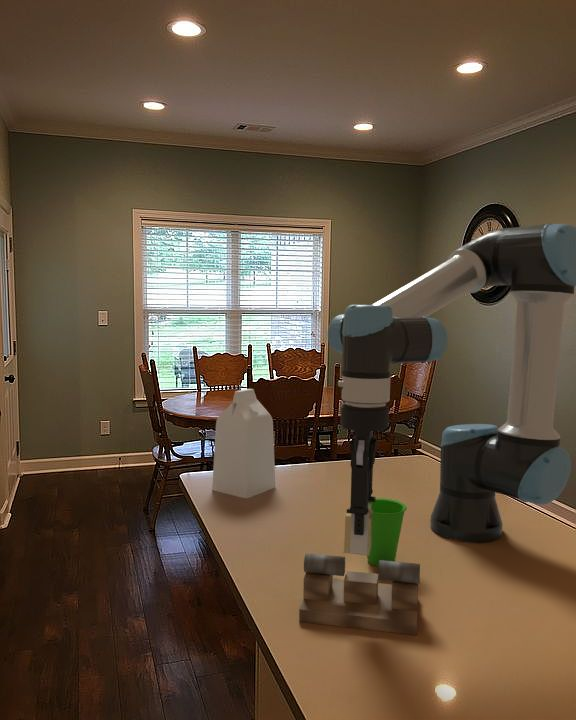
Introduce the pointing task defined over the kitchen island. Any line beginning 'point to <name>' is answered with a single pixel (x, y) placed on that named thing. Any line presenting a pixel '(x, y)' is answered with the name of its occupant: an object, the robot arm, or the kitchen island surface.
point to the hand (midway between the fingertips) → (360, 546)
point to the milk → (244, 448)
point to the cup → (385, 529)
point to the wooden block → (348, 531)
